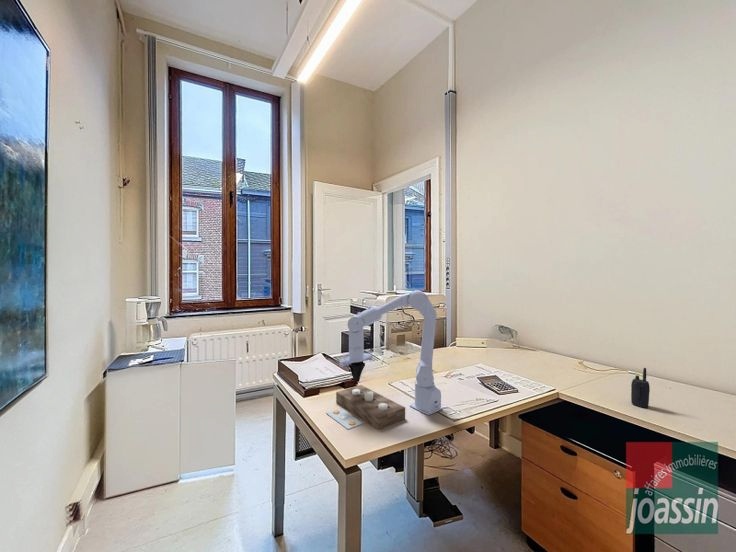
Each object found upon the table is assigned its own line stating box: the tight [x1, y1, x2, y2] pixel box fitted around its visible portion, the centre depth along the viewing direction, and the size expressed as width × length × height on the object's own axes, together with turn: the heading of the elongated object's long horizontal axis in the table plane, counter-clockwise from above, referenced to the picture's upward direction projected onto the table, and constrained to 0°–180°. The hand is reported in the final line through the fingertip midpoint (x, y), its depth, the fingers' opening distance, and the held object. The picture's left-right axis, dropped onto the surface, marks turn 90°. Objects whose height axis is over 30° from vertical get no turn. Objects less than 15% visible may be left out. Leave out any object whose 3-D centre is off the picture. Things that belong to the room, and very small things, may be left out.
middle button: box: [365, 390, 373, 402], centre depth 118 cm, size 3×3×4 cm
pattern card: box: [326, 408, 364, 430], centre depth 111 cm, size 14×6×1 cm, turn 38°
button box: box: [335, 384, 406, 430], centre depth 118 cm, size 26×12×4 cm, turn 38°
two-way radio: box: [630, 367, 651, 409], centre depth 122 cm, size 6×4×15 cm
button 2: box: [378, 403, 387, 411], centre depth 112 cm, size 3×3×4 cm
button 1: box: [352, 389, 360, 395], centre depth 124 cm, size 3×3×4 cm
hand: (356, 381), depth 124 cm, fingers closed
